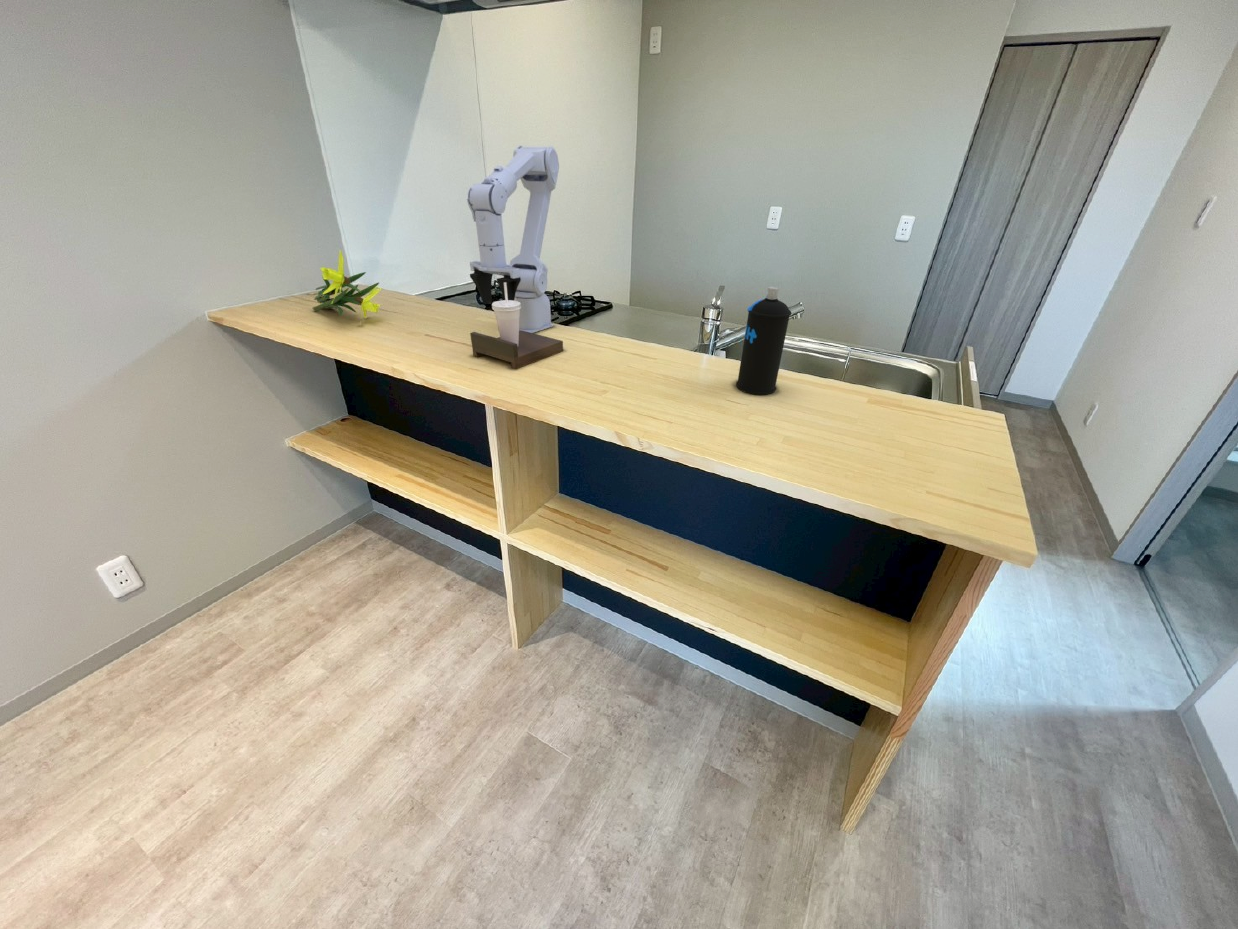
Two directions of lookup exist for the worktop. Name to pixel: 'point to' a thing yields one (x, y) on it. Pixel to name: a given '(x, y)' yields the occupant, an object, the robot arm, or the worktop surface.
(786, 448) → the worktop surface
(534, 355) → the shelf
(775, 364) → the aerosol can
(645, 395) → the worktop surface
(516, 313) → the smoothie
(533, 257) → the robot arm
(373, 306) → the daffodil flowers
